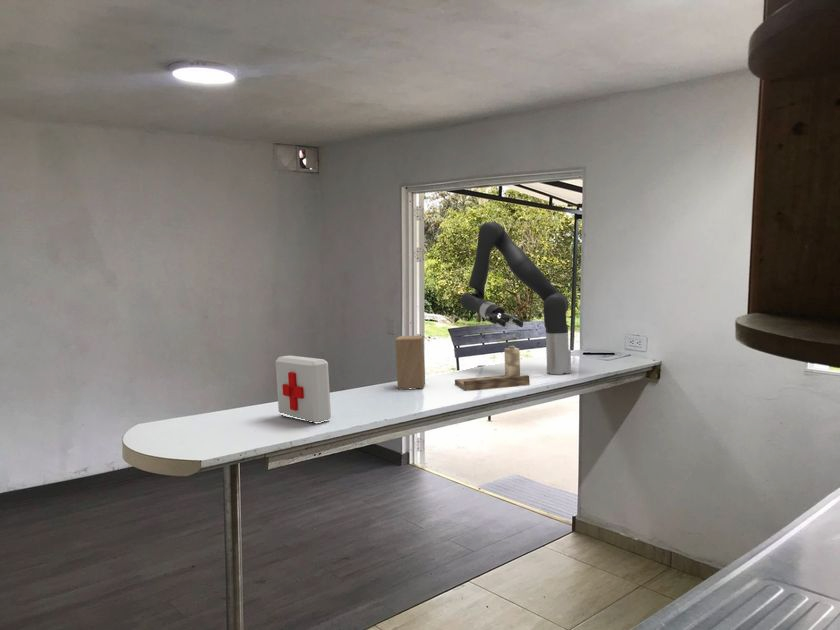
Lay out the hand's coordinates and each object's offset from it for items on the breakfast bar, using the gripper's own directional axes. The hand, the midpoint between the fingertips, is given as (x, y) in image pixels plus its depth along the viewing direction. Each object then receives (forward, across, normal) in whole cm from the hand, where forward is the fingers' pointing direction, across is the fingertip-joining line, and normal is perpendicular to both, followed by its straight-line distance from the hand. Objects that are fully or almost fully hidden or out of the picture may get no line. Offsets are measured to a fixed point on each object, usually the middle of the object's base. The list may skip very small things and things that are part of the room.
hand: (513, 324), depth 265 cm
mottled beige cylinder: (+11, -4, +19) cm, 22 cm away
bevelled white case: (+18, -90, +29) cm, 96 cm away
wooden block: (-8, -37, +30) cm, 48 cm away
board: (+8, -10, +22) cm, 26 cm away
